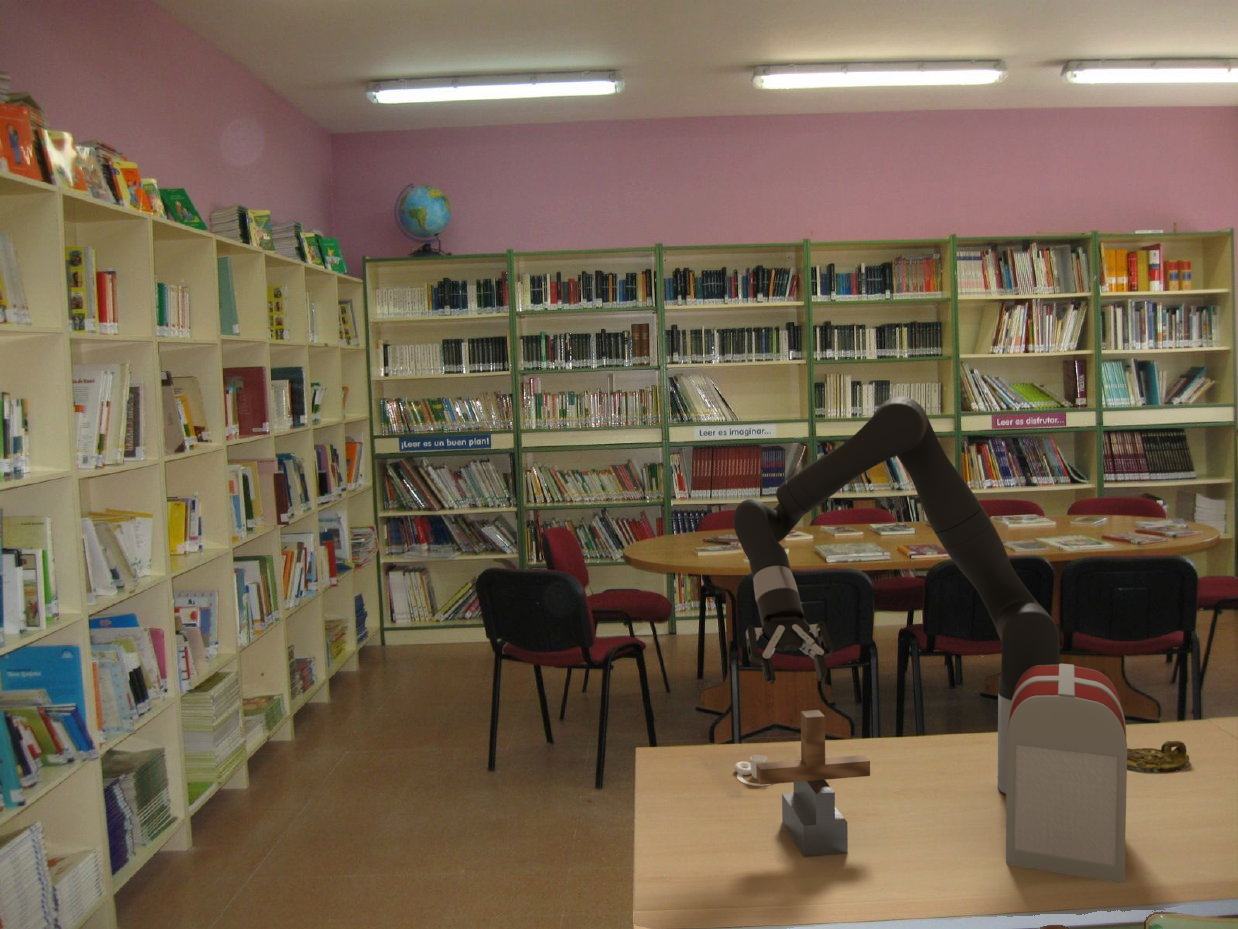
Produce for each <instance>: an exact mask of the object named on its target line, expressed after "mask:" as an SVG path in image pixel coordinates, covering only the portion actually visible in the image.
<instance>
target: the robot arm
mask: <svg viewBox="0 0 1238 929" xmlns="http://www.w3.org/2000/svg"><path fill="white" fill-rule="evenodd" d="M894 457H895V458H896V457H897V458H898V460H899V462H900V463H901V464H902V465H903V467H904V469H905V471H906V472H907V473H908V475H909V477H910V479H911V481H912V483H913V485H914V488H915V491H916V494H917V496H918V499H919V501H920V504H921V506H922V509H923V511H924V515H925V516H926V519H927V521H928V524H929V525H930V526H931V528H932V529H931V530H933V532H934V534H935V536H936V538H937V539H938V540H939V541H940V544H941V545H942V547H943V549H944V550H945V551H946V553H947V554H948V556H949V557H950V559H951V560H952V561H953V562H954V564H955V565H956V567H957V568H958V569H959V570H960V571H961V573H962V574H963V575H964V576H965V577H966V578H967V579H968V581H969V582H970V583H971V584H972V585H973V587H974V588H975V590H976V592H977V593H978V595H979V597H980V598H981V600H982V602H983V604H984V606H985V608H986V610H987V612H988V614H989V616H990V618H991V620H992V622H993V625H994V627H995V630H996V633H997V635H998V637H999V639H1000V642H1001V667H1000V668H1001V670H1000V676H999V678H998V683H997V684H998V691H997V692H998V696H997V697H998V698H997V700H998V703H997V705H998V706H997V708H998V709H997V712H998V713H997V789H998V790H999V791H1000V792H1001V793H1003V794H1004V795H1006V781H1007V730H1008V715H1009V709H1010V704H1011V701H1012V698H1013V694H1014V690H1015V687H1016V685H1017V683H1018V680H1019V679H1020V677H1021V676H1022V675H1023V674H1024V673H1025V672H1026V671H1027V670H1028V669H1030V668H1032V667H1034V666H1038V665H1059V664H1060V643H1061V642H1060V632H1059V628H1058V625H1057V623H1056V622H1055V620H1054V619H1053V618H1052V616H1051V615H1050V614H1049V613H1048V611H1047V610H1046V609H1045V608H1044V607H1043V606H1042V605H1041V604H1040V603H1039V602H1038V601H1037V600H1036V598H1035V597H1034V596H1033V595H1032V593H1031V592H1030V591H1029V589H1028V588H1027V587H1026V585H1025V584H1024V583H1023V581H1022V579H1021V578H1020V577H1019V576H1018V574H1017V572H1016V571H1015V569H1014V567H1013V565H1012V563H1011V560H1010V558H1009V556H1008V553H1007V551H1006V550H1007V549H1006V548H1005V546H1004V543H1003V541H1002V539H1001V537H1000V535H999V532H998V531H997V528H996V527H995V525H994V524H993V522H992V520H991V518H990V516H989V515H988V514H987V512H986V511H985V509H984V507H983V506H982V504H981V503H980V501H979V500H978V498H977V496H976V495H975V494H974V492H973V491H972V488H970V486H969V485H968V483H967V482H966V481H965V479H964V478H963V476H962V475H961V473H960V471H958V470H957V469H956V467H955V466H954V465H953V463H952V462H951V460H950V459H949V457H948V456H947V454H946V453H945V450H944V449H943V447H942V445H941V442H940V440H939V439H938V437H937V435H936V433H935V430H934V428H933V426H932V424H931V422H930V419H929V418H928V415H927V412H926V411H925V409H924V408H923V407H922V405H920V403H919V402H918V401H916V400H915V399H912V398H910V397H907V396H894V397H890V398H889V399H887V400H885V401H884V402H882V403H881V405H880V406H879V407H878V408H876V410H875V412H874V414H873V415H872V417H871V418H870V419H869V420H868V421H867V422H866V423H865V424H864V425H863V426H862V427H861V428H860V429H859V430H858V431H857V432H856V433H855V434H853V435H852V436H851V437H850V438H849V439H848V440H847V441H845V442H844V443H842V444H841V445H840V446H838V447H836V448H835V449H834V450H832V451H831V452H828V453H827V454H826V455H824V456H822V457H820V458H818V459H817V460H815V461H813V462H811V463H810V464H808V465H806V466H805V467H804V468H802V469H801V470H799V471H798V472H797V473H796V474H794V475H793V476H790V478H788V479H786V481H784V482H783V483H781V484H780V485H779V486H778V487H777V489H776V491H775V495H776V499H777V501H778V504H777V505H776V506H774V507H773V508H771V507H769V506H768V505H767V504H766V503H764V502H762V501H760V500H758V499H755V498H748V499H745V500H743V501H741V502H740V503H739V504H738V505H737V507H736V508H735V510H734V512H733V513H734V514H733V519H732V520H733V521H732V523H733V528H734V532H735V535H736V537H737V540H738V541H739V544H740V545H741V548H742V550H743V552H744V554H745V556H746V558H747V560H748V561H749V567H750V571H751V572H750V573H751V577H752V581H753V590H754V599H755V602H756V605H757V610H758V614H759V618H760V623H761V627H756V626H754V625H753V624H749V625H748V626H747V629H746V631H745V641H746V648H747V655H748V660H749V662H750V663H759V665H760V666H761V669H762V673H763V678H764V680H765V682H768V684H769V685H775V682H776V674H775V669H774V666H773V665H774V664H773V660H772V658H771V657H772V656H773V654H774V652H775V651H776V650H777V651H779V652H781V653H782V652H787V651H792V652H793V651H798V650H800V651H801V652H802V653H803V654H804V655H808V656H809V657H810V658H811V659H813V665H814V669H815V673H816V676H817V680H818V682H824V680H825V678H826V677H827V675H828V668H827V664H826V659H828V658H830V656H831V654H832V652H833V650H834V646H833V643H832V640H831V637H830V634H829V631H828V628H827V626H826V622H824V620H819V621H818V622H817V623H814V624H810V623H808V622H807V621H806V618H805V613H804V609H803V605H802V601H801V597H800V593H799V590H798V586H797V583H796V580H795V578H794V575H793V572H792V568H791V565H790V562H789V561H790V560H789V558H788V554H787V551H786V550H785V549H786V548H784V547H783V545H781V543H780V542H782V541H783V540H784V539H785V538H787V536H788V535H789V534H790V532H792V530H793V529H794V528H795V527H796V526H797V524H798V523H799V522H800V521H801V520H802V518H803V517H804V516H805V515H806V514H808V513H809V512H811V511H812V510H814V509H815V508H817V507H818V506H820V505H821V504H822V503H824V502H825V501H826V500H828V499H830V498H831V497H832V496H834V495H835V494H836V493H837V492H839V491H840V490H841V489H842V488H844V487H845V486H846V485H848V484H850V483H851V482H852V481H854V480H855V479H856V478H858V477H859V476H861V475H862V474H865V473H866V472H867V471H869V470H871V469H872V468H875V467H876V466H878V465H880V464H882V463H884V462H886V461H888V460H890V459H892V458H894ZM810 633H811V634H813V636H814V638H817V641H818V644H819V645H818V644H817V643H816V642H815V639H813V638H812V637H811V636H810V635H809V634H810ZM760 636H761V637H762V638H764V639H765V641H766V642H767V643H768V644H767V646H766V647H765V650H764V651H763V652H761V651H759V648H758V647H759V646H758V640H759V638H760Z"/></svg>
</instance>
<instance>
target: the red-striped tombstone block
mask: <svg viewBox="0 0 1238 929" xmlns="http://www.w3.org/2000/svg"><path fill="white" fill-rule="evenodd" d="M1125 719H1126V718H1125V715H1124V710H1123V707H1122V702H1121V698H1120V696H1119V693H1118V691H1117V689H1116V687H1115V686H1114V683H1113V682H1112V681H1111V680H1110V679H1109V677H1107V676H1106V675H1105V674H1103V673H1102V672H1100V671H1098V670H1096V669H1092V668H1087V667H1081V666H1076V665H1075V664H1071V663H1059V665H1038V666H1034V667H1032V668H1030V669H1028V670H1027V671H1026V672H1025V673H1024V674H1023V675H1022V676H1021V677H1020V679H1019V680H1018V683H1017V685H1016V687H1015V690H1014V694H1013V698H1012V701H1011V704H1010V709H1009V715H1008V730H1007V781H1006V794H1005V795H1006V798H1005V799H1006V800H1005V801H1006V802H1005V803H1006V805H1005V809H1006V810H1005V812H1006V814H1005V815H1006V816H1005V863H1006V864H1008V865H1011V866H1018V867H1023V868H1030V869H1036V870H1042V871H1046V872H1047V871H1048V872H1054V873H1061V874H1064V875H1065V874H1066V875H1071V876H1077V877H1084V878H1090V879H1096V880H1101V881H1108V882H1115V883H1120V884H1121V883H1125V881H1126V880H1125V874H1126V873H1125V872H1126V834H1127V833H1126V830H1127V829H1126V828H1127V826H1126V825H1127V822H1126V820H1127V785H1128V784H1127V782H1128V781H1127V780H1128V779H1127V777H1128V774H1127V773H1128V769H1127V748H1128V742H1127V725H1126V720H1125Z"/></svg>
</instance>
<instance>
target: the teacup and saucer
mask: <svg viewBox="0 0 1238 929" xmlns="http://www.w3.org/2000/svg"><path fill="white" fill-rule="evenodd" d="M756 763H768V757H767V756H765V755H762V754H753V755H751V756H750V758H749V762H748V761H738V762H736V763H735V765H734V770H735V771H736V772H737V774H736V778H737V780H738V781H739V782H741V783H743V784H745V785H748V786H755V787H765V786H772V785H773V784H766V785H760V783H754V782H749V781H747V780H745V779H744V776H749V775H751V776H752V778H753V779H755V780H757V772H756Z"/></svg>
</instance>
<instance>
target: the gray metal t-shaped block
mask: <svg viewBox="0 0 1238 929" xmlns="http://www.w3.org/2000/svg"><path fill="white" fill-rule="evenodd" d="M835 795H836V794H835V790H833V788H832V787H831V785H830V784H829V783H828V782H827V781H826V780H815V781H803V782H793V792H783V793H782V792H781V810H782V811H781V812H782V813H781V814H782V817H781V818H782V824H783V826H784V827H785V829H786V831H787V832H788V834H789V835H790V837H791V838H792V840H793V842H794V843H795V845H796V846H797V848H798V850H799V851H800V853H801V854H802V856H803V857H804V858H807V857H817V856H818V857H819V856H829V855H840V854H848V850H849V849H848V846H849V845H848V844H849V843H848V840H849V839H848V838H849V837H848V835H849V832H848V820H846V818H845V817H844V815H843V814H842V813H841V812H840V810H839V809H838V808H837V807H836V796H835Z"/></svg>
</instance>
